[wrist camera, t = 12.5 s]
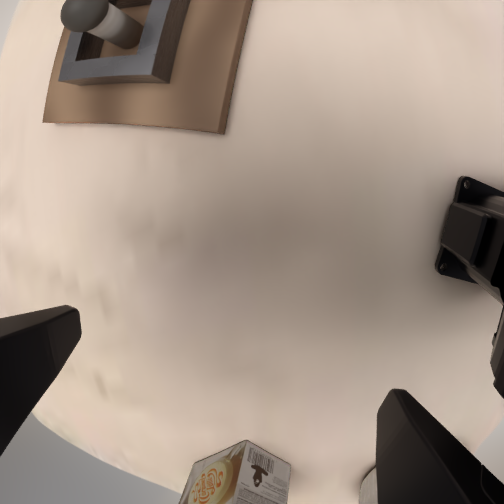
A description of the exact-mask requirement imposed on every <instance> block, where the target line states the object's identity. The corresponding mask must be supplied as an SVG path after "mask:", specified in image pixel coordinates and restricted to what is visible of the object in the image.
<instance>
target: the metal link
mask: <svg viewBox="0 0 504 504" xmlns="http://www.w3.org/2000/svg"><path fill="white" fill-rule="evenodd" d="M108 1H109V3H110V4H112V5H113V6H115V7H116V8H118V9H124V8H130V7H137V6H145V5H150V8H149V11H148V15H147V18H146V21H145V25H144V28H143V32H142V35H141V39H140V43H139V46H138V50H137V54H136V55H125V56H114V57H104V58H100V54H101V50H102V47H103V43H104V39H102V38H100V37H98V36H95V35H93V34H91V33H89V32H80V33H79V32H72V31H71V33H70V36H69V39H68V43H67V46H66V50H65V54H64V58H63V62H62V66H61V70H60V74H59V79H58V81H59V82H64V83H69V84H74V85H78V86H87V85H101V84H125V83H166V84H170V79H171V74H172V70H173V65H174V61H175V57H176V52H177V48H178V44H179V40H180V36H181V33H182V29H183V25H184V21H185V18H186V14H187V11H188V7H189V4H190V1H191V0H108Z"/></svg>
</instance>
